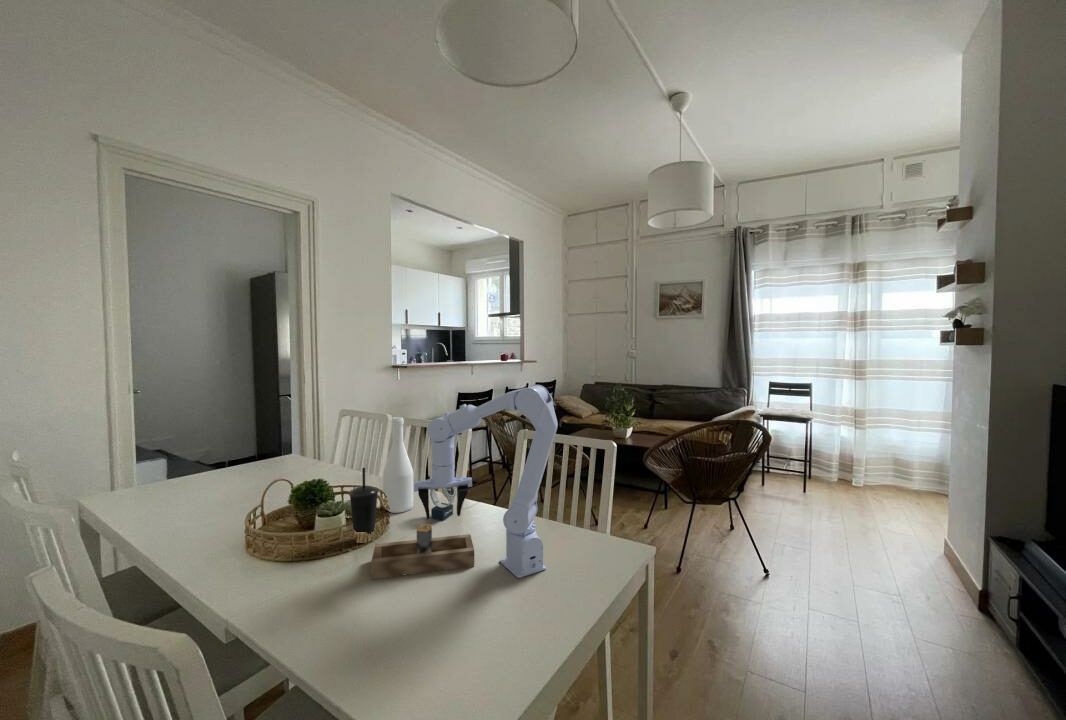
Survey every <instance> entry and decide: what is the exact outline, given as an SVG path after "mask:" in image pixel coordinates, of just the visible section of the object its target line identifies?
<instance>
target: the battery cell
mask: <svg viewBox="0 0 1066 720" xmlns="http://www.w3.org/2000/svg"><path fill="white" fill-rule="evenodd" d="M432 529H433V528H432V524H431V523H422V524H419V525H417V526H416V540H417V554H420V553H428V552H432V538H433V533H432V532H433V530H432Z"/></svg>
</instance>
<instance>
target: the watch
mask: <svg viewBox="0 0 1066 720" xmlns="http://www.w3.org/2000/svg"><path fill="white" fill-rule="evenodd" d="M455 488H456V487H453V488H441V492H442V495H443V496H444V497H445V498H446V499H447V501H448V503H444V502H440V499H439V497H438V496H437V495H438V494H437V492H436V489H429V492H430V493H429V497H430V499H431V501H432V503H433V505H434V507H432V508H431V509H430V511H431V512H430V515H431V516H430V518H431V520H436V521H440V522H441V521H442V522H444V521H446V520H447V519H448V518H449V517H451V516H453V515H454V504H453V503H454V500H455V498H456V497H455V496H456V494H457V491H456V489H455Z"/></svg>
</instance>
